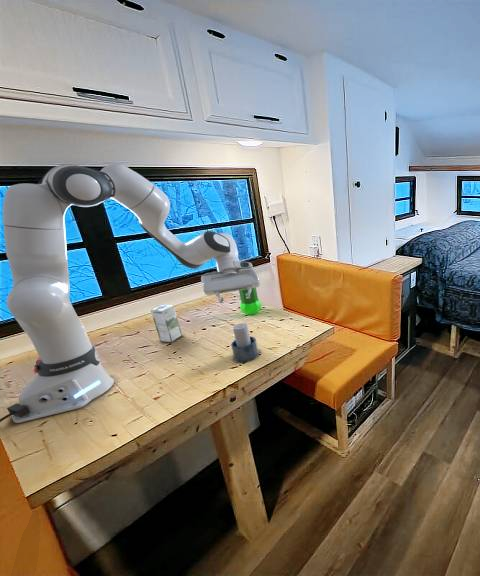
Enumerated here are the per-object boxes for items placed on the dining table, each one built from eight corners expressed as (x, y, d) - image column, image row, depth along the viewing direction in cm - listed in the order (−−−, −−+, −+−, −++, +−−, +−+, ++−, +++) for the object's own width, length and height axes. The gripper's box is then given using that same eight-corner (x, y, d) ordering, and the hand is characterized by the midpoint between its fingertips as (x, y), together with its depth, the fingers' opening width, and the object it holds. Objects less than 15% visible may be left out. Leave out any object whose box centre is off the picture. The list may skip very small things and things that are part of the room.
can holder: (236, 364, 109) (233, 350, 107) (232, 354, 116) (229, 340, 114) (260, 357, 114) (258, 343, 112) (255, 347, 120) (252, 334, 118)
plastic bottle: (266, 308, 156) (258, 261, 147) (255, 317, 146) (245, 267, 137) (249, 307, 157) (239, 261, 149) (236, 316, 148) (225, 267, 139)
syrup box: (171, 334, 132) (162, 304, 127) (183, 335, 131) (173, 305, 126) (160, 341, 127) (149, 309, 122) (171, 342, 126) (161, 310, 121)
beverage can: (248, 358, 112) (241, 330, 108) (236, 357, 113) (229, 329, 109) (255, 351, 116) (250, 323, 112) (244, 350, 117) (238, 322, 113)
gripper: (198, 270, 117) (203, 302, 112) (255, 262, 125) (262, 291, 120) (202, 277, 122) (206, 308, 117) (256, 269, 130) (262, 298, 126)
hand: (235, 300), depth 119 cm, fingers open, 8 cm apart
